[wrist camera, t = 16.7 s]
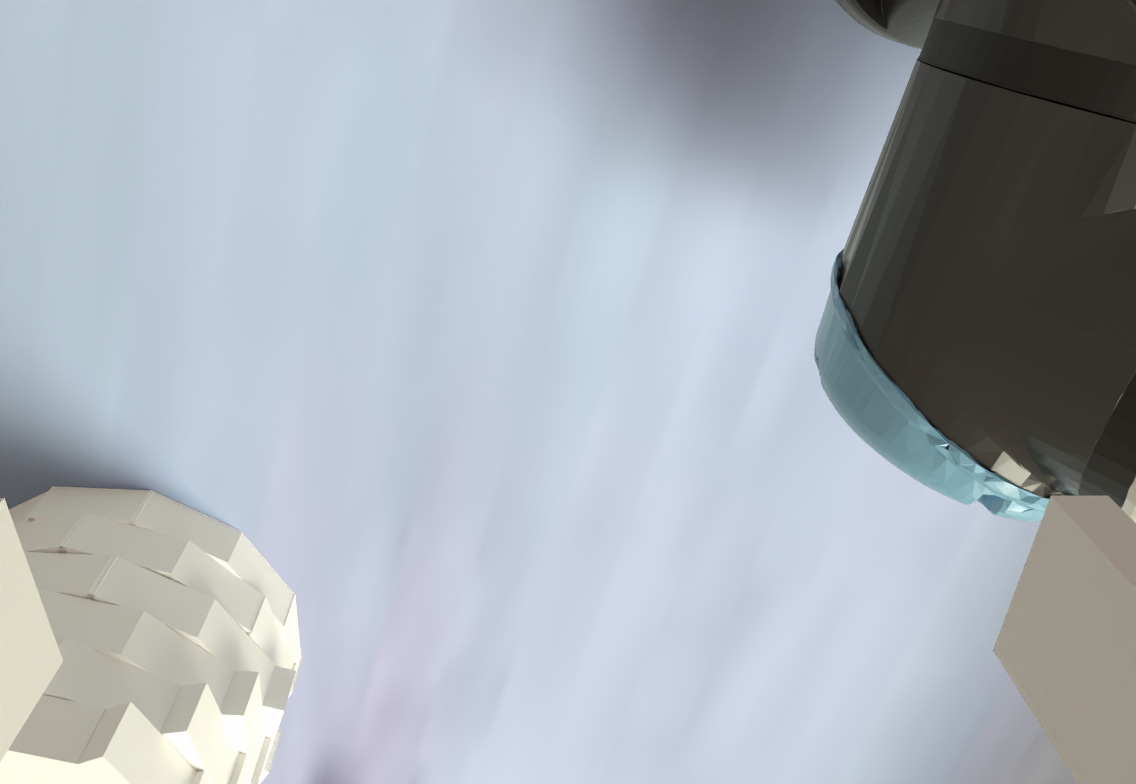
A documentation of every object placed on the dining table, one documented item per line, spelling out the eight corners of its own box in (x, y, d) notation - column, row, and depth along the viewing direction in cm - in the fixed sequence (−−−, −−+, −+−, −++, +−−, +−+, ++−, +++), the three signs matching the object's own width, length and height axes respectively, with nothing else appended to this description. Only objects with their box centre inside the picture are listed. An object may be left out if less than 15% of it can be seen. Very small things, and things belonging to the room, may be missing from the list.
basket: (108, 774, 67) (-27, 1053, 51) (-135, 565, 56) (-410, 836, 40) (383, 667, 63) (333, 935, 46) (177, 419, 52) (15, 655, 35)
